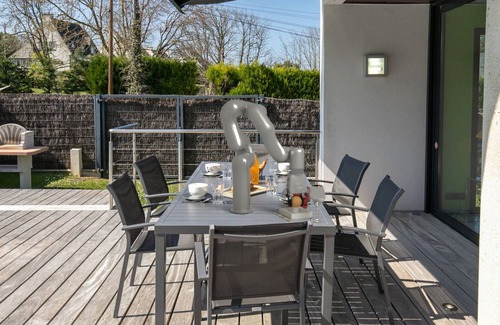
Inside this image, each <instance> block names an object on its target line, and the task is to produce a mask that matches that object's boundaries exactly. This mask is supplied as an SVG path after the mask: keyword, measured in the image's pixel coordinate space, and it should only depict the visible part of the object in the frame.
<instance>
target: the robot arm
mask: <svg viewBox="0 0 500 325" xmlns="http://www.w3.org/2000/svg"><path fill="white" fill-rule="evenodd" d="M267 111H268V110H267V108H266V107H265V106H264V105H263V104H259V103H256V102H251V101H245V100H242V99H231V100H229V101H227V102H225V103H224V104H223V105H222V107H221V109H220V113H219V120H220V123H221V125H222V129H223V133H224V136H225V139H226V142H227V146H228V148H229V149H230V151H232V152H235V153H236V155H235V156H233V158H232V160H231V171H232V207H231V208H229V212H230V213H232V214H241V215H242V214H243V215H246V214H251V213H253V212H254V209H253V208H252V207H251V172H250V169H251V168H252V167H254V165H255V162H256V156H255V154H254V150H253V147H252V143H251V140H250V138H249V136H248V135H247V134H245V133H243V132H241V128H240V125H239V123H238V120H237V119H236V118H237V117H239V116H240V117H244V118H248V119H249V120H250V122H251V123H252V124H253V126H254V128H255V130H256V131H257V133H258V134H259V135H260V138H261V140H262V143H263V145H264V148H265V149H266V151H267V152H268V153H269V155H270V156H271V158H272V159H273V161H275V162H277V163H284V162H286V161H289V164H288V169H286V172H287V178H286V183H285V184H286V185H285V188H284V189H283V190H282V194H283V195H284V196H285V197H286V199H287V198H288V199H287V204H288V205H287V207H288V206H290V207H292V199H291V198H292V196H293V194H300V196H301V197H300V198H301V200H302V203H301V205H302V206H303V204H304V198H305V196H306V195H307V193H308V192H309V191H310V190H309V189H308V188H307V177H306V174H305V171H304V170H305V149H304V148H303V147H290V146H285V145H282V144H281V143H280V142H279V140H278V138H277V135H276V129H275V126H274V123H272V122H271V119H270V118H269V117H268V115H267V114H268V112H267ZM287 192H288V194H287Z"/></svg>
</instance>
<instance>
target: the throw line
mask: <svg viewBox="0 0 500 325" xmlns="http://www.w3.org/2000/svg"><path fill="white" fill-rule="evenodd" d="M273 214H274V215H276V216H278V217H280V218H282V219H283V220H286V221H287V222H288V223H293V222H294V221H293V220H291V219H289V218H287V217H285V216H283V215H281V214H279V212H278V213H277V212H273Z"/></svg>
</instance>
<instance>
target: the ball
mask: <svg viewBox="0 0 500 325" xmlns="http://www.w3.org/2000/svg"><path fill="white" fill-rule="evenodd" d="M291 199H292V206H293V207H295V208H297V207H299V206H300V205H301V203H302V200H301V198H300V197H298V196H294V197H292V198H291Z"/></svg>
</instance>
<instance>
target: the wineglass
mask: <svg viewBox="0 0 500 325" xmlns="http://www.w3.org/2000/svg"><path fill="white" fill-rule="evenodd" d="M325 200H326V192H325V187H324V185H322V184H312V185H311V186H310V193H309V201H310V202H311V203H312V204H313V205H314V206H315V218H313V219H312V218H310V220H311V221H312V222H311V221H310V222H311V223H315V222H320V223H323V222H322V221H323V219H320V218H318V213H319V212H318V208H319V206H320V205H322V203H324V202H325Z"/></svg>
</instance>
